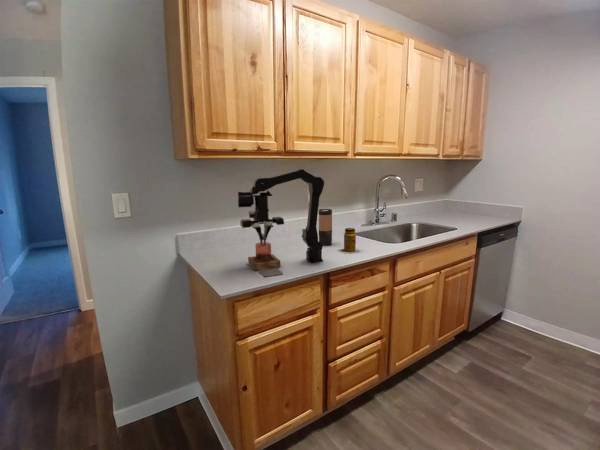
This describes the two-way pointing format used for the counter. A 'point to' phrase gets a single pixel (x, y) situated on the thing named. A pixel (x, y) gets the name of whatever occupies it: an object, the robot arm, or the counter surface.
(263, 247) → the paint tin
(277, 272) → the mat
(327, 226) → the travel mug
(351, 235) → the condiment
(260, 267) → the holder
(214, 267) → the counter surface
